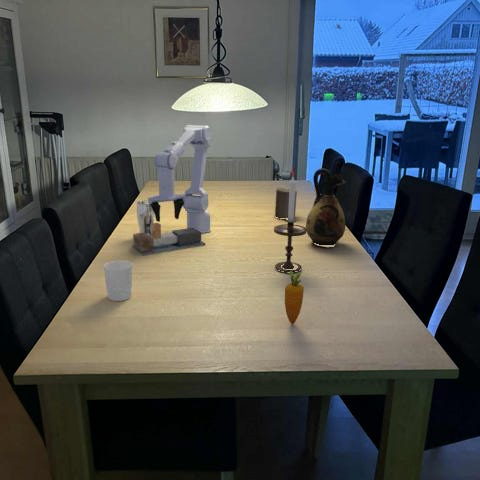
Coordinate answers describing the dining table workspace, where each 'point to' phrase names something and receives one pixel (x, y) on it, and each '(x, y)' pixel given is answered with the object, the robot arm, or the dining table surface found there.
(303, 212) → the dining table surface
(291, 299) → the carrot
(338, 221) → the ceramic jug
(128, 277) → the white cup
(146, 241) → the socket block
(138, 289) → the dining table surface
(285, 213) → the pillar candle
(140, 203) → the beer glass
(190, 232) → the outer sleeve
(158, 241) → the grey slider with handle
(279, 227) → the candlestick
